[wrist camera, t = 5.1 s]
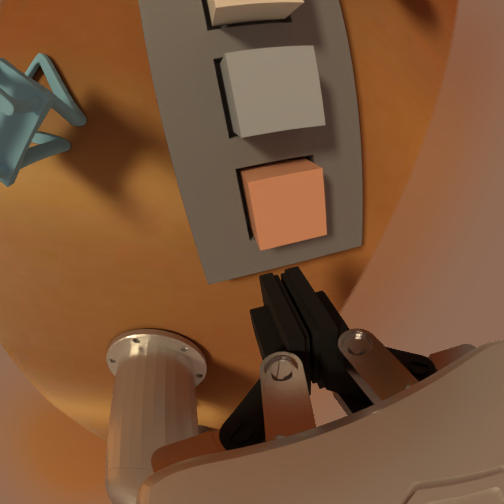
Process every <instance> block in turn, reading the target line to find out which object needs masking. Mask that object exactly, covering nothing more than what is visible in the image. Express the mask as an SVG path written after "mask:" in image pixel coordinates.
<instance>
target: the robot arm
mask: <svg viewBox="0 0 504 504" xmlns="http://www.w3.org/2000/svg"><path fill="white" fill-rule="evenodd" d="M259 278H260V285H261V291H262V297H263V303H264V306H263V307H259V308H255V309H251V310H250V315H251V320H252V324H253V329H254V332H255V336H256V340H257V343H258V346H259V350H260V353H261V356H262V359H263V361H262V363H261V365H260V379H259V380H258V381H257V383H256V384H255V385H254V387H253V388H252V389H251V390H250V392H249V393H248V394H247V396H246V397H245V398H244V399H243V401H242V402H241V403H240V404H239V406H238V407H237V408H236V409H235V411H234V412H233V413H232V414H231V415H230V417H229V418H228V419H227V420H226V421H225V423H224V424H223V425H222V427H221V428H220V429H218V430H215V431H213V432H210V431H207V432H204V433H201V434H199V430H198V419H197V406H196V392H195V387H196V386H198V385H199V384H200V383H201V382H202V381H203V379H204V378H205V376H206V372H207V365H206V358H205V356H204V354H203V352H202V351H201V350H200V349H199V348H198V346H196V345H195V344H194V343H193V342H191V341H190V340H188V339H186V338H184V337H182V336H180V335H177V334H175V333H172V332H168V331H164V330H156V329H138V330H132V331H128V332H125V333H123V334H121V335H119V336H117V337H116V338H115V339H114V340H113V341H112V342H111V344H110V345H109V348H108V352H107V358H106V360H107V364H108V367H109V369H110V370H111V372H112V373H113V374H114V375H115V383H114V390H113V397H112V404H111V412H110V420H109V430H108V440H107V454H106V473H105V474H106V475H105V484H106V490H107V493H108V495H109V498H110V500H111V502H112V503H113V504H504V341H495V342H490V343H487V344H484V345H482V346H479V347H477V348H476V347H474V346H473V345H470V344H462V345H459V346H456V347H453V348H450V349H447V350H443V351H440V352H437V353H433V354H430V355H429V357H425V356H422V355H418V354H413V353H409V352H405V351H400V350H396V349H392V348H388V347H385V346H384V345H383V344H382V343H381V342H380V341H379V340H378V339H377V338H376V337H375V336H374V335H373V334H372V333H370V332H369V331H366V330H364V329H351V330H350V329H349V328H348V326H347V325H346V323H345V322H344V320H343V319H342V317H341V316H340V314H339V313H338V311H337V310H336V309H335V307H334V306H333V304H332V303H331V301H330V300H329V298H328V297H327V295H326V294H325V293H324V292H323V291H319V292H314V290H313V289H312V287H311V285H310V284H309V282H308V281H307V279H306V278H305V276H304V275H303V273H302V272H301V270H300V269H299V267H293V268H289V269H285V273H283V274H281V280H280V278H279V276H278V275H273V273H268V274H264V275H260V276H259ZM281 281H282V282H281ZM311 381H312V383H317V384H318V386H319V388H320V389H321V388H324V387H325V388H326V389H327V390H330V391H333V395H334V397H335V398H336V400H337V401H338V403H339V404H340V405H341V407H342V408H343V410H344V411H345V412H346V414H347V415H348V416H346V417H343V418H341V419H338V420H335V421H333V422H330V423H327V424H325V425H322V426H319V427H316V424H315V419H314V415H313V410H312V405H311V401H310V395H311Z"/></svg>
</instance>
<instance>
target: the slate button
mask: <svg viewBox="0 0 504 504" xmlns="http://www.w3.org/2000/svg"><path fill="white" fill-rule="evenodd" d="M220 67H221V72H222V77H223V82H224V87H225V92H226V97H227V102H228V107H229V112H230V117H231V122H232V128H233V132H234V133H236V134H237V135H238V136H240V137H241V138H243V137H249V136H254V135H259V134H265V133H271V132H277V131H284V130H291V129H298V128H305V127H313V126H322V125H325V117H324V109H323V101H322V94H321V87H320V81H319V75H318V68H317V63H316V57H315V52H314V46H284V47H270V48H260V49H251V50H243V51H236V52H229V53H225V54H224V56H223V58H222V61H221V63H220Z"/></svg>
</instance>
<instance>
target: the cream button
mask: <svg viewBox="0 0 504 504" xmlns="http://www.w3.org/2000/svg"><path fill="white" fill-rule="evenodd" d="M207 3H208V8H209V12H210V17H211V22H212V26H218V25H225V24H232V23H240V22H249V21H261V20H278V19H285V18H286V17H287V16H289V15H290V14H291V13H292V12H293V11H294V10H296V9H297V8H298V7H299V6H300V5H302V4H303V3H304V1H303V0H207Z"/></svg>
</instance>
